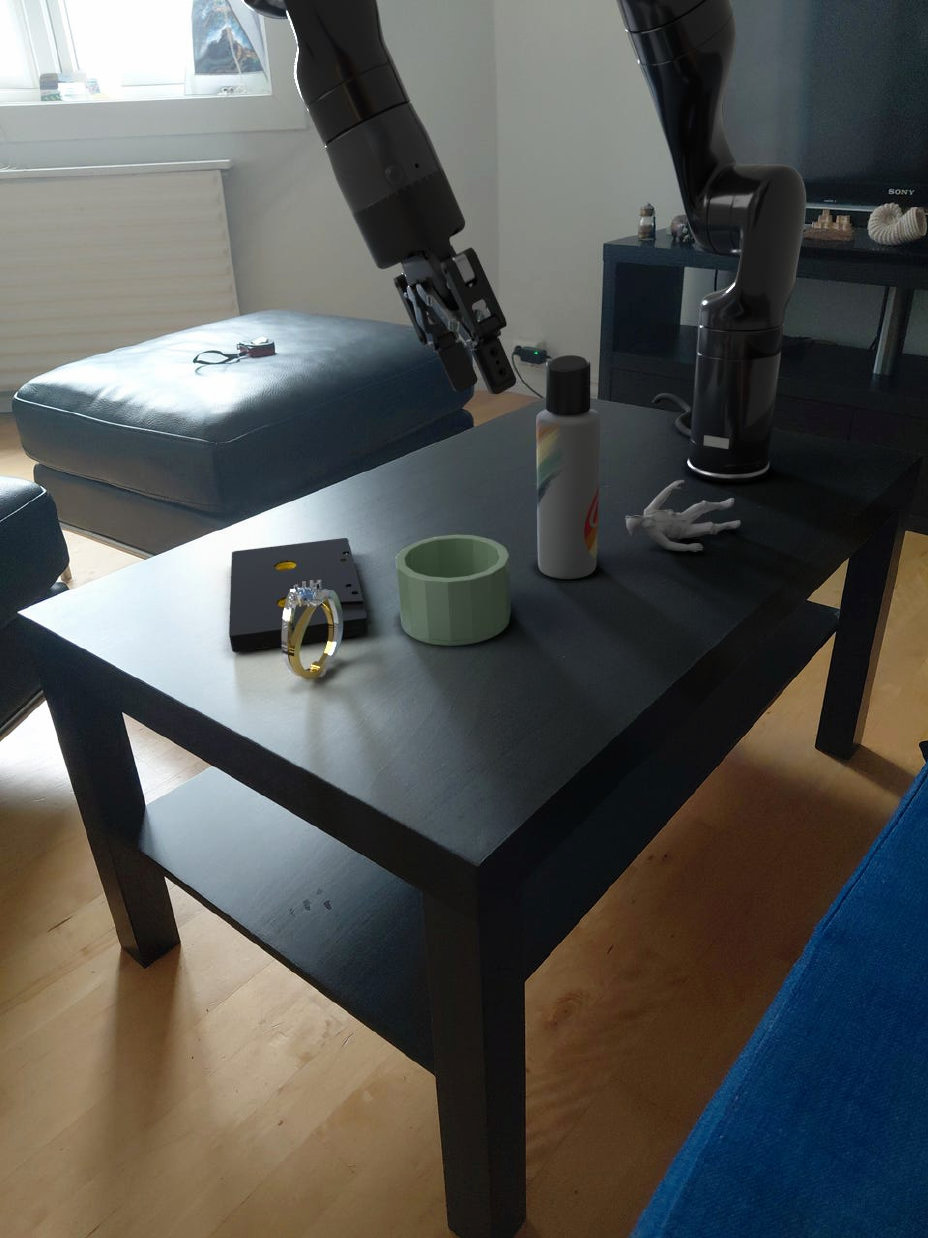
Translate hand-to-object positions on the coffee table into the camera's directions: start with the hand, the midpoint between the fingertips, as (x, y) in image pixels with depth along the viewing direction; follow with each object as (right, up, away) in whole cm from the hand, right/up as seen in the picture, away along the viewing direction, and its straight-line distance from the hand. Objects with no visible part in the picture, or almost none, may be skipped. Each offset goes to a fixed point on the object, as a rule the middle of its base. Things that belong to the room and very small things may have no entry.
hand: (484, 388), depth 76 cm
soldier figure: (+21, -11, +20) cm, 31 cm away
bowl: (-2, -19, +7) cm, 20 cm away
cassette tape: (-17, -17, +12) cm, 27 cm away
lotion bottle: (+8, -14, +15) cm, 22 cm away
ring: (-13, -23, 0) cm, 27 cm away
